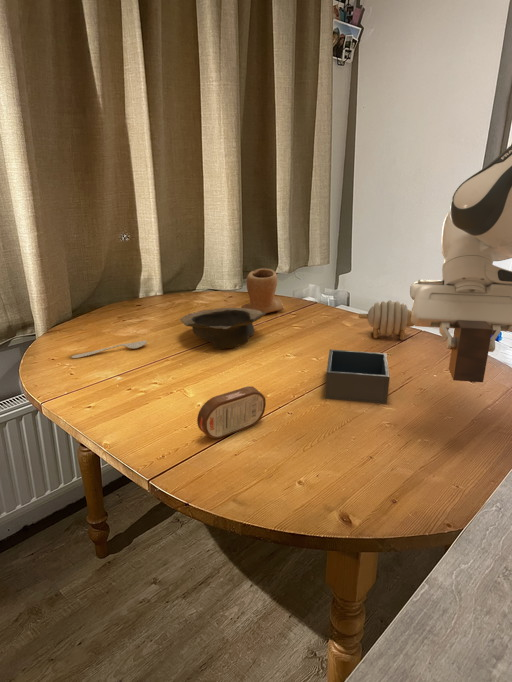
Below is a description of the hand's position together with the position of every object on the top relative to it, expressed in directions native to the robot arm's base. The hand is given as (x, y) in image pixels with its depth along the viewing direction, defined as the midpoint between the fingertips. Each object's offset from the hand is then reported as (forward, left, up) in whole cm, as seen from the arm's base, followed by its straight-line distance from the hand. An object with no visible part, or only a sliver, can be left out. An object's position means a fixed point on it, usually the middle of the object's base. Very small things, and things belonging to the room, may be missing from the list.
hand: (470, 349), depth 88 cm
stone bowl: (+58, -47, -20) cm, 77 cm away
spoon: (+86, -31, -20) cm, 93 cm away
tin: (+43, +3, -20) cm, 47 cm away
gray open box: (+19, -21, -20) cm, 34 cm away
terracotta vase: (+50, -74, -20) cm, 92 cm away
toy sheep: (+10, -58, -20) cm, 62 cm away
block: (0, -1, -5) cm, 5 cm away
